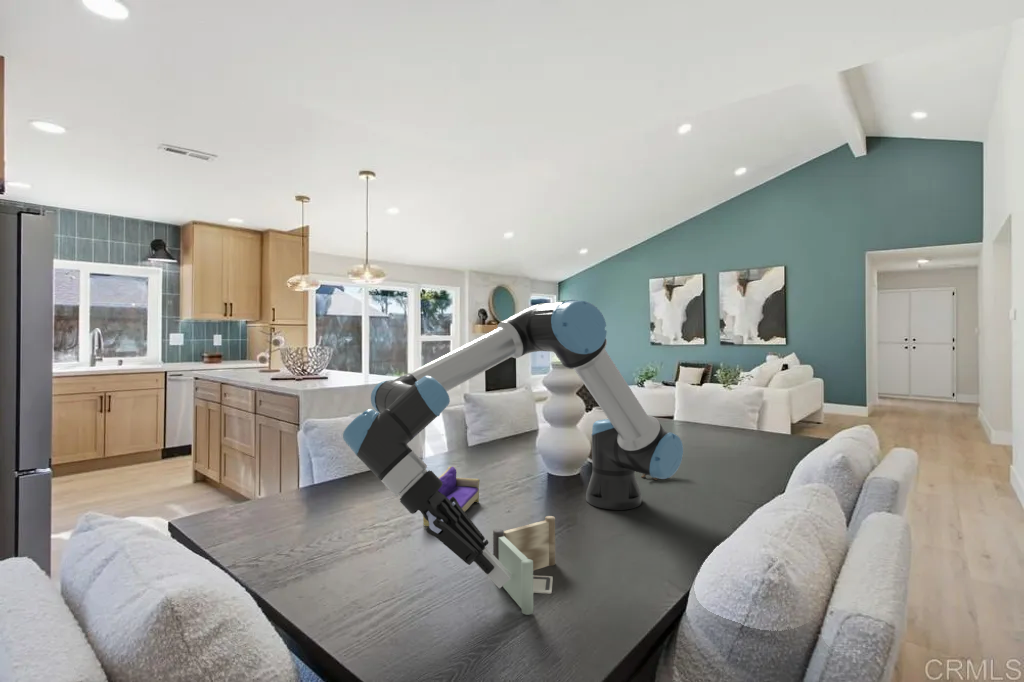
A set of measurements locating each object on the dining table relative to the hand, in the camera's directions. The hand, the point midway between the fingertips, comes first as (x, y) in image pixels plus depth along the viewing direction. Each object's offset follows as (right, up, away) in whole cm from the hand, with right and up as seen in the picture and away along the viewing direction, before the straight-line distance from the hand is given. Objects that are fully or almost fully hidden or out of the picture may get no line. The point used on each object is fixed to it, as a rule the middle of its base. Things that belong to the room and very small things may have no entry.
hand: (505, 581), depth 89 cm
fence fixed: (+4, -4, +12) cm, 13 cm away
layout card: (+6, -4, +7) cm, 10 cm away
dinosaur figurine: (+47, -2, +76) cm, 90 cm away
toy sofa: (-14, -4, +45) cm, 47 cm away
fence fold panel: (+2, -3, +1) cm, 4 cm away
